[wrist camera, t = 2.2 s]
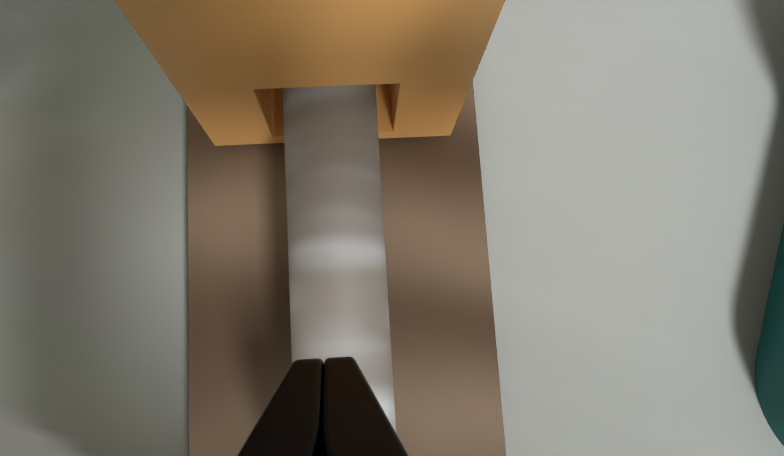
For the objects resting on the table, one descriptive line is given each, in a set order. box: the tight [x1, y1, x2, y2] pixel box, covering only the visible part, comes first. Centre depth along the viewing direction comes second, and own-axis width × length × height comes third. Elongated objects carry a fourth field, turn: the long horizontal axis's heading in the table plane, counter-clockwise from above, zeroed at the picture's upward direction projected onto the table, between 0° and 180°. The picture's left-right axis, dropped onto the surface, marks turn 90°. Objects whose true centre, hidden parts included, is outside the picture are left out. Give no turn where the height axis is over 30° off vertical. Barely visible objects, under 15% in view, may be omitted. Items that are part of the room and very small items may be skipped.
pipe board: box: [187, 81, 506, 456], centre depth 21 cm, size 24×10×6 cm, turn 3°
